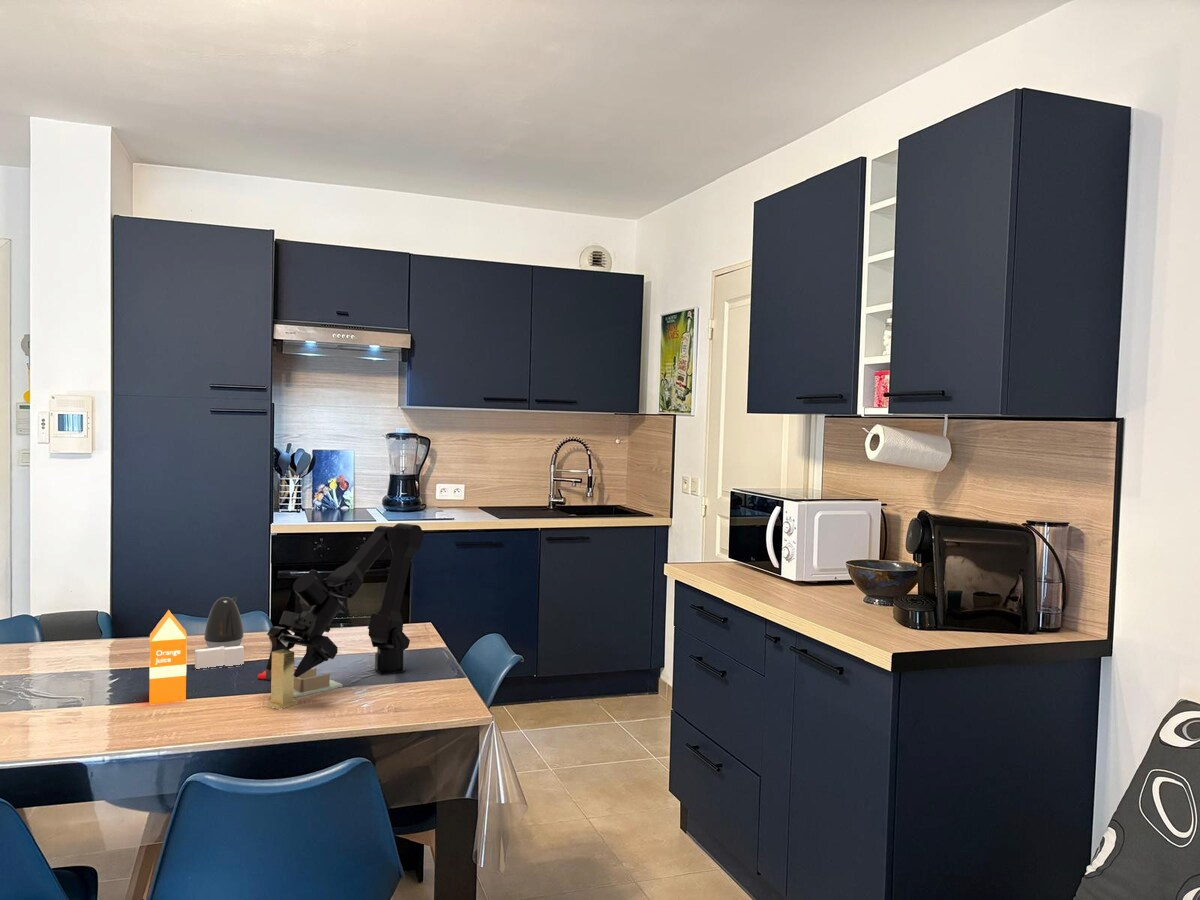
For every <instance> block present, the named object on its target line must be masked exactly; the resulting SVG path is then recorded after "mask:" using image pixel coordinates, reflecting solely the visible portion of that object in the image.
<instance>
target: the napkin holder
mask: <svg viewBox="0 0 1200 900" xmlns="http://www.w3.org/2000/svg"><path fill="white" fill-rule="evenodd" d="M240 664H241V665H242V664H244V665H245V647H244V646H243V645H239V646H234V647H225V648H224V646H222V647H216V648H208V647H207V648H201V649H200V648H199V649H195V651H194V669H195V668H196V669H200V668H207V667H208V668H209V667H216V666H223V665H225V666H233V665H240ZM196 669H195V670H196Z"/></svg>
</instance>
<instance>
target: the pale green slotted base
mask: <svg viewBox="0 0 1200 900" xmlns="http://www.w3.org/2000/svg"><path fill="white" fill-rule="evenodd" d="M338 687H340V688H343V684H342V683H340V682H338V681H336V680H333V679H331V673H324V674H321V675H317V668H316V667H313V668H312V669H310V670H308V671H307V672H305V673H303V674H302V675H300V676H299V677H297V678H296V677H295V676H294V697H295V698H299V697H303V696H302V695H304V696H307V695H306V694H308V695H312V694H311V693H313V694H316V693H317V694H318V693H321V691H322V692H326V691H330V689H331V690H335V689H339V688H338ZM334 688H335V689H334ZM325 690H326V691H325ZM298 696H299V697H298Z"/></svg>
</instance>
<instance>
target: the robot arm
mask: <svg viewBox="0 0 1200 900" xmlns="http://www.w3.org/2000/svg"><path fill="white" fill-rule="evenodd" d="M422 529H423V528H421V526H420V525H418V524H414V523H413V524H410V523H400V522H399V523H397V524H395V525H394V526H390V525H389V526H387V525H378V526H376V527H375V528H374V529H373V533H372V534H371V535H370V536H369V537H368V538H367V540H366V541H365V542H364V543H363V545H362V546H361V547H360V548H359V549H358V550H357V552H356V553H355V554H354V555H353V556H352V557H351V558H350V559H349V561H347V563H345V564H343V565H341V566H339V567H337V568H336V569H335V570H334V571H332V572H331V573H329V575H328V576H327V577H326V578H323V577H322V576H321V574H320V573H319V571H318V570H316V569H310V570H309V571H308V573H304V574H303V575H302V574H301V576H299V578H297V579H295V581H294V582H293V585H292V590H293V591H294V592H295V593H296V594H297V596H299V598H300V599H301V600H302V601H303V602H304V603H305V604H306V605H307V606H309V607H311V609H310V610H309V611H304V610H303V611H302V612H301V613H298V612H293V611H289V610H283V612H282V614H281V618H280V620H279V623H278V625H281V626H276V625H275V626H272V627H270V629H269V630H268V632H267V634H266V635H267V637H268V639H269V641H270V640H271V642H272V650H271V654H270V653H269V658H268V660H267V665H266V668H265V669H266V670H268V671H270V670H272V652H273V651H277V650H281V649H284V650H289V651H291V649H293V648H294V647H295V645H297V646H301V647H302V646H303V647H306V649H305V653H304V655H303V657H302V659H301V661H300V662H299V664H298V666H296V668H295V669H294V670H295V672H294V674H293V675H294V676H295V677H296V678H297V677H299V676H300V675H302V674H303V673H305V672H307V671H308V670H310V669H312V668H316V667H317V666H319V665H320V664H322V663H325V662H328V661H329V659H330V660H334V659H335V658H336V656H337V654H338V651H339V650H338V646H337V645H336V643H334V642H333V640H331V639H330V637H329V636H327V635H323V634H324V633H329V632H330V631H331V628H330V625H331V622H333V620H334V618H335V617H336V615H337V614H338V613H341V614H346V613H347V607H346V602H345V601H341V600H340V599H339V598H345V599H351V598H353V597H355V596H356V595H357V593H358V591H359V590H360V589H361V587H362V585H363V583H364V576H365V574H366V573H367V571H368V570H369V569H370V568H371V566H372V565H373V564H374V563H375V561H376V560H377V559H378V557H380V556H381V554H382V553H383V552H384V550H385V549H386V548H387V547H388V546H390V548H391V549H390V550H391V552H392V559H391V562H390V568H389V571H388V576H387V580H386V586H385V588H384V589H385V590H384V594H383V598H382V602H381V607H380V609H379V610H378V611H377V612H376V613H371V615H370V618H369V619H370V620H369V624H368V626H367V629H368V637H369V638H370V641H371V645H372V648H376V649H377V650H376V653H375V655H374V669H375V670H376V671H377V672H378V673H379V674H380V675H388V674H389V675H390V674H396V673H397V674H398V673H405V672H406V669H405V668H404V651H405V650H407V649H409V646H410V642H411V639H410V638H409V637H408V636H407V635H406V634H405V633H404V631H403V629H404V620H403V618H402V614H401V608H402V603H403V598H404V594H405V591H406V586H407V584H406V583H407V581H408V580H407V579H408V576H409V571H410V566H411V564H412V563H411V562H412V559H413V557H414V556H415V555H416V554H417V552H418V551H419V550H420V548H421V547H422V546H421V545H422V542H423V540H424V536H425V535H424V531H423V530H422ZM282 625H283V626H286V627H290V628H289V630H290V631H289V630H288V629H287V628H286V627H282ZM292 633H293V634H292Z"/></svg>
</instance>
